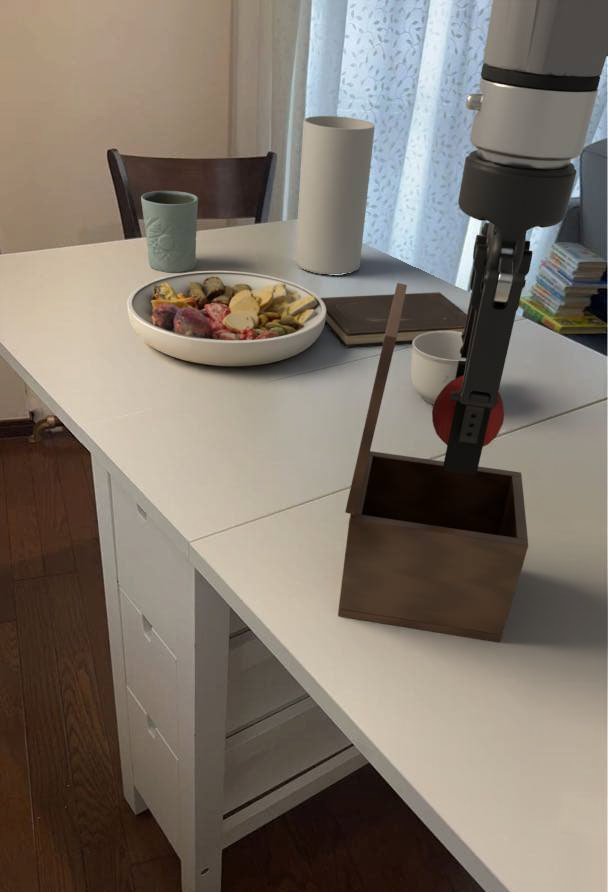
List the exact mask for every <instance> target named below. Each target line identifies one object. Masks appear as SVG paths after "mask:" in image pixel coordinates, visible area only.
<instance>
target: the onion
mask: <svg viewBox="0 0 608 892" xmlns="http://www.w3.org/2000/svg"><path fill="white" fill-rule="evenodd" d="M463 376H464V375H463ZM463 376H460V377H458V378H456V379H454V380H452V381H451V382H450V383H448V384H447V385H446V386H445V387H444V388H443V390H442V391H441V392H440V394H439V395H438V397H437V399H436V401H435V403H434V404H433V406H432V410H431V418H432V419H431V420H432V426H433V428H434V431H435V434H436V435H437V437H438V438H439V439H440V440H441V441H442V442H443V443H444V444H445V445H446V446H447V445H448V439H449V434H450V429H451V424H452V419H453V414H454V409H455V404H456V401H451V400H450V393H451V391H452V392H459V390H461V388H462V382H463ZM497 397H498V402H497V404H496V407H495V408H494V409H491V413H490V417H489V422H488V426H487V430H486V435H485V439H484V444H483V447H486V446H488V445H489V444H490V443H492V442H493V441H494V440H495V439H496V438H497V436H498V434H499V433H500V431H501V429H502V426H503V424H504V418H505V406H504V403H503V399H502V396H501V394H500V392H499V391H498V396H497Z"/></svg>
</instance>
